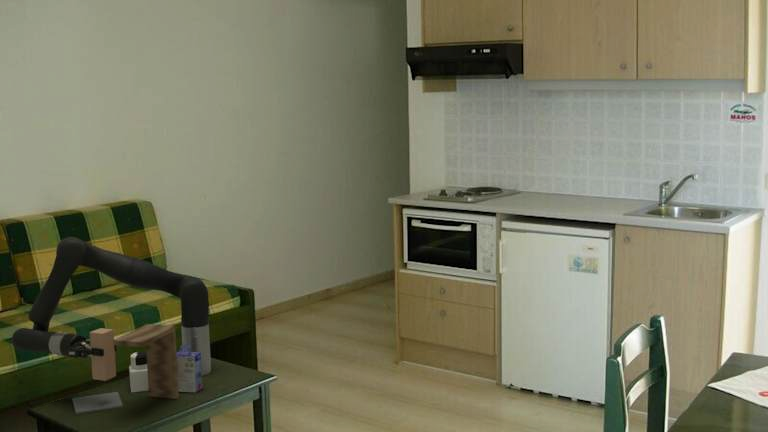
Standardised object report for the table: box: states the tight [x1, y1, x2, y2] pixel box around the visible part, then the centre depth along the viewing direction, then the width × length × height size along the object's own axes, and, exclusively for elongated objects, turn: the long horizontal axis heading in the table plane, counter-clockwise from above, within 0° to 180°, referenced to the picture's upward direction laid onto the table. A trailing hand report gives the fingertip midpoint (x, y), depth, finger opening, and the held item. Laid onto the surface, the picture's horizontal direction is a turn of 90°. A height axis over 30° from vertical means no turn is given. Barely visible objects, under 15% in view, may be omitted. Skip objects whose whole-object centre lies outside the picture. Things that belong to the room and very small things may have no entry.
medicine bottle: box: [128, 351, 149, 393], centre depth 303 cm, size 7×7×12 cm
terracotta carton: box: [89, 327, 117, 382], centre depth 286 cm, size 5×5×15 cm
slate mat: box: [72, 391, 124, 415], centre depth 290 cm, size 14×14×1 cm
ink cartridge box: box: [176, 345, 203, 393], centre depth 300 cm, size 10×6×14 cm, turn 78°
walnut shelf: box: [113, 323, 180, 400], centre depth 285 cm, size 10×19×24 cm, turn 163°
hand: (109, 350), depth 285 cm, fingers closed on terracotta carton, 5 cm apart
